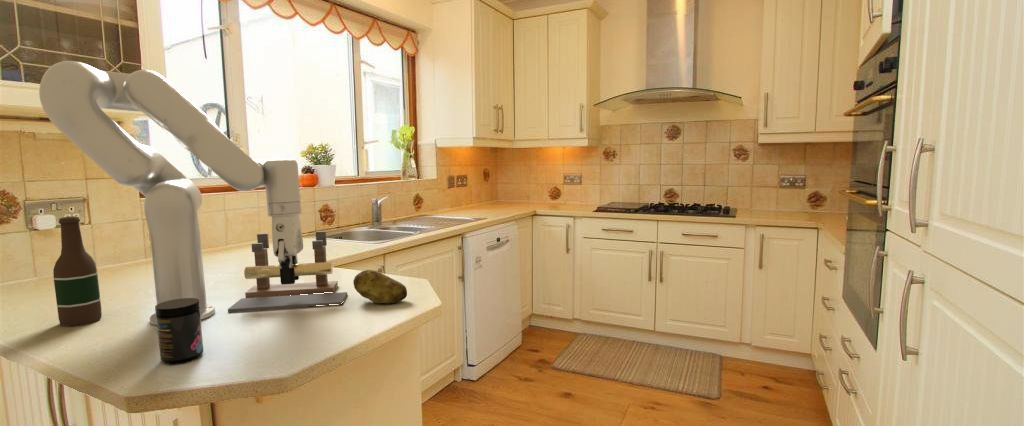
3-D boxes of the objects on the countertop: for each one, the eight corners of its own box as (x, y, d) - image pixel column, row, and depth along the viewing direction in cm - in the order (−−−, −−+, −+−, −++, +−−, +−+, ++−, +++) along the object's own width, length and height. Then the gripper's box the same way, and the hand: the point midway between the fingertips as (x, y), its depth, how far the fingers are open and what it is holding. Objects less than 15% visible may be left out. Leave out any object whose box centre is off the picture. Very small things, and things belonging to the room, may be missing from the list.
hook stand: (333, 292, 134) (330, 234, 132) (245, 298, 130) (240, 237, 128) (337, 286, 140) (334, 230, 139) (254, 291, 137) (249, 233, 135)
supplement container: (190, 365, 88) (185, 308, 87) (151, 366, 88) (145, 309, 87) (211, 350, 95) (207, 297, 94) (175, 351, 95) (170, 298, 93)
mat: (342, 305, 123) (341, 301, 122) (228, 312, 118) (227, 309, 118) (347, 295, 131) (347, 292, 131) (241, 301, 127) (241, 298, 127)
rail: (330, 275, 124) (330, 263, 124) (244, 280, 121) (243, 268, 120) (332, 272, 127) (332, 260, 127) (249, 277, 124) (248, 265, 123)
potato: (389, 310, 118) (388, 277, 117) (348, 303, 124) (347, 272, 123) (411, 300, 126) (410, 269, 125) (371, 295, 131) (370, 265, 130)
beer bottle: (109, 319, 114) (98, 215, 112) (66, 329, 108) (53, 220, 105) (95, 314, 118) (83, 214, 116) (52, 323, 112) (39, 218, 109)
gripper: (292, 212, 115) (298, 289, 117) (308, 205, 131) (312, 273, 133) (257, 213, 113) (263, 291, 115) (277, 206, 129) (283, 275, 131)
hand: (290, 281), depth 124 cm, fingers closed on rail, 3 cm apart
